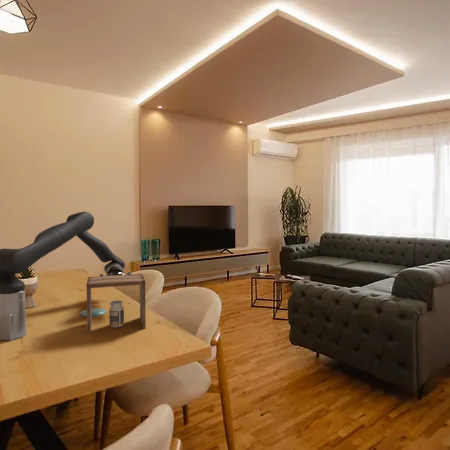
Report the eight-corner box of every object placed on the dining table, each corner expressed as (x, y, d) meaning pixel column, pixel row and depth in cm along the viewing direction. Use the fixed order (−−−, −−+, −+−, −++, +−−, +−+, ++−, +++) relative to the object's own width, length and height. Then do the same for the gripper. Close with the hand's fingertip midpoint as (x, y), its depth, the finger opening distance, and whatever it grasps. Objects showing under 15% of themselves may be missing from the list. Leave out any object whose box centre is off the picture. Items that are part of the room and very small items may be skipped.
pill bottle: (118, 322, 150) (118, 299, 149) (126, 325, 146) (126, 301, 146) (106, 325, 146) (106, 302, 145) (114, 328, 142) (114, 304, 141)
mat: (99, 317, 156) (99, 316, 156) (75, 316, 157) (75, 315, 157) (110, 309, 167) (110, 308, 167) (88, 308, 168) (87, 307, 168)
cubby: (145, 328, 143) (145, 280, 142) (87, 334, 136) (86, 284, 135) (142, 317, 156) (142, 274, 155) (89, 322, 149) (88, 277, 148)
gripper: (99, 266, 169) (98, 273, 154) (130, 264, 174) (132, 271, 159) (99, 281, 170) (99, 290, 155) (130, 279, 175) (132, 287, 159)
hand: (115, 280), depth 157 cm, fingers open, 8 cm apart
